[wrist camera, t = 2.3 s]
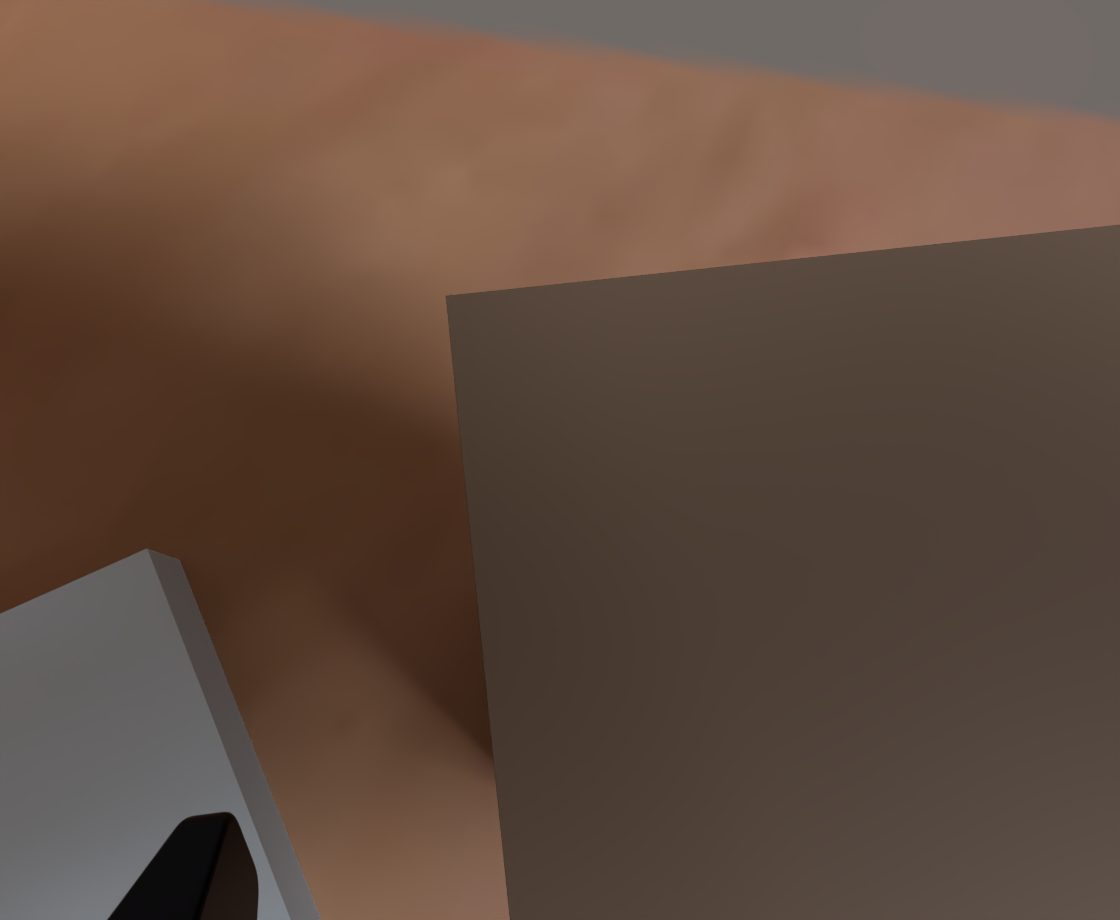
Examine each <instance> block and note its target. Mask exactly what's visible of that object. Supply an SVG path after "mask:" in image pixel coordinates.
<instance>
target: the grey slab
mask: <svg viewBox="0 0 1120 920" xmlns="http://www.w3.org/2000/svg"><path fill="white" fill-rule="evenodd" d="M218 812H230V813H232V814H233V815H234V816H235V817H236V819H237V821H238V823H239V825H240V828H241V830H242V833H243V835H244V838H245V841H246V843H247V846H248V848H249V851H250V854H251V856H252V859H253V861H254V864H255V867H256V870H257V875H258V886H259V898H258V915H257V920H321V918H320V915H319V913H318V910H317V908H316V905H315V902H314V900H313V897H312V895H311V892H310V890H309V887H308V885H307V882H306V880H305V877H304V874H303V872H302V869H301V867H300V864H299V862H298V859H297V857H296V854H295V852H294V849H293V847H292V844H291V841H290V839H289V836H288V834H287V831H286V829H285V826H284V824H283V821H282V819H281V816H280V813H279V811H278V808H277V806H276V803H275V801H274V798H273V796H272V793H271V791H270V788H269V785H268V783H267V780H266V778H265V775H264V773H263V770H262V768H261V765H260V763H259V760H258V758H257V755H256V752H255V750H254V747H253V745H252V742H251V740H250V737H249V735H248V732H247V730H246V727H245V724H244V722H243V719H242V717H241V714H240V712H239V709H238V707H237V704H236V702H235V699H234V696H233V694H232V691H231V689H230V686H229V684H228V681H227V679H226V676H225V674H224V671H223V669H222V666H221V663H220V661H219V658H218V656H217V653H216V651H215V648H214V646H213V643H212V641H211V638H210V635H209V633H208V630H207V628H206V625H205V623H204V620H203V618H202V615H201V613H200V610H199V608H198V605H197V602H196V600H195V597H194V595H193V592H192V590H191V587H190V585H189V582H188V580H187V577H186V574H185V572H184V569H183V567H182V564H181V562H180V559H177V558H174V557H171V556H168V555H165V554H162V553H159V552H156V551H154V550H151V549H148V548H147V549H144V550H142V551H140V552H138V553H135V554H133V555H131V556H129V557H126V558H124V559H122V560H120V561H117V562H115V563H113V564H111V565H108V566H106V567H104V568H102V569H99V570H97V571H95V572H93V573H90V574H88V575H86V576H84V577H81V578H79V579H77V580H75V581H72V582H70V583H68V584H66V585H63V586H61V587H59V588H57V589H54V590H52V591H50V592H48V593H45V594H43V595H41V596H39V597H36V598H34V599H32V600H30V601H27V602H25V603H23V604H21V605H18V606H16V607H14V608H12V609H9V610H7V611H5V612H3V613H0V920H107V919H108V918H109V916H110V915H111V914H112V912H113V911H114V910H115V908H116V907H117V906H118V904H119V903H120V902H121V900H122V899H123V898H124V896H125V895H126V894H127V892H128V891H129V890H130V888H131V887H132V885H133V884H134V883H135V881H136V880H137V879H138V877H139V876H140V875H141V873H142V872H143V871H144V869H145V868H146V867H147V865H148V864H149V863H150V861H151V860H152V859H153V857H154V856H155V855H156V853H157V852H158V850H159V849H160V848H161V846H162V845H163V844H164V842H165V841H166V840H167V838H168V837H169V836H170V834H171V833H172V832H173V830H174V829H175V828H176V826H177V825H178V824H179V823H180V822H181V821H183V820H184V819H186V818H187V817H190V816H194V815H202V814H210V813H218Z"/></svg>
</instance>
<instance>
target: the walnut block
mask: <svg viewBox="0 0 1120 920" xmlns="http://www.w3.org/2000/svg"><path fill="white" fill-rule="evenodd" d="M446 304H447V313H448V323H449V333H450V342H451V352H452V362H453V371H454V381H455V391H456V401H457V410H458V420H459V430H460V439H461V449H462V459H463V469H464V478H465V488H466V498H467V507H468V517H469V527H470V537H471V546H472V556H473V566H474V575H475V585H476V595H477V604H478V614H479V624H480V634H481V643H482V653H483V663H484V672H485V682H486V692H487V702H488V711H489V721H490V731H491V740H492V750H493V760H494V770H495V779H496V789H497V799H498V808H499V818H500V828H501V837H502V847H503V857H504V867H505V876H506V886H507V896H508V905H509V915H510V920H1120V225H1113V226H1104V227H1094V228H1085V229H1075V230H1066V231H1056V232H1047V233H1037V234H1028V235H1018V236H1009V237H999V238H990V239H980V240H971V241H962V242H952V243H943V244H933V245H924V246H914V247H905V248H895V249H886V250H876V251H867V252H857V253H848V254H838V255H829V256H819V257H810V258H800V259H791V260H782V261H772V262H763V263H753V264H744V265H734V266H725V267H715V268H706V269H696V270H687V271H677V272H668V273H658V274H649V275H639V276H630V277H620V278H611V279H602V280H592V281H583V282H573V283H564V284H554V285H545V286H535V287H526V288H516V289H507V290H497V291H488V292H478V293H469V294H459V295H450V296H446Z"/></svg>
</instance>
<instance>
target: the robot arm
mask: <svg viewBox="0 0 1120 920" xmlns="http://www.w3.org/2000/svg"><path fill="white" fill-rule="evenodd" d="M258 898H259V886H258V875H257V870H256V867H255V864H254V861H253V859H252V856H251V854H250V851H249V848H248V846H247V843H246V841H245V838H244V835H243V833H242V830H241V828H240V825H239V823H238V821H237V819H236V817H235V816H234V815H233V814H232V813H230V812H218V813H210V814H202V815H194V816H190V817H187V818H186V819H184V820H183V821H181V822H180V823H179V824H178V825H177V826H176V828H175V829H174V830H173V832H172V833H171V834H170V836H169V837H168V838H167V840H166V841H165V842H164V844H163V845H162V846H161V848H160V849H159V850H158V852H157V853H156V855H155V856H154V857H153V859H152V860H151V861H150V863H149V864H148V865H147V867H146V868H145V869H144V871H143V872H142V873H141V875H140V876H139V877H138V879H137V880H136V881H135V883H134V884H133V885H132V887H131V888H130V890H129V891H128V892H127V894H126V895H125V896H124V898H123V899H122V900H121V902H120V903H119V904H118V906H117V907H116V908H115V910H114V911H113V912H112V914H111V915H110V916H109V918H108V919H107V920H257V915H258Z"/></svg>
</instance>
